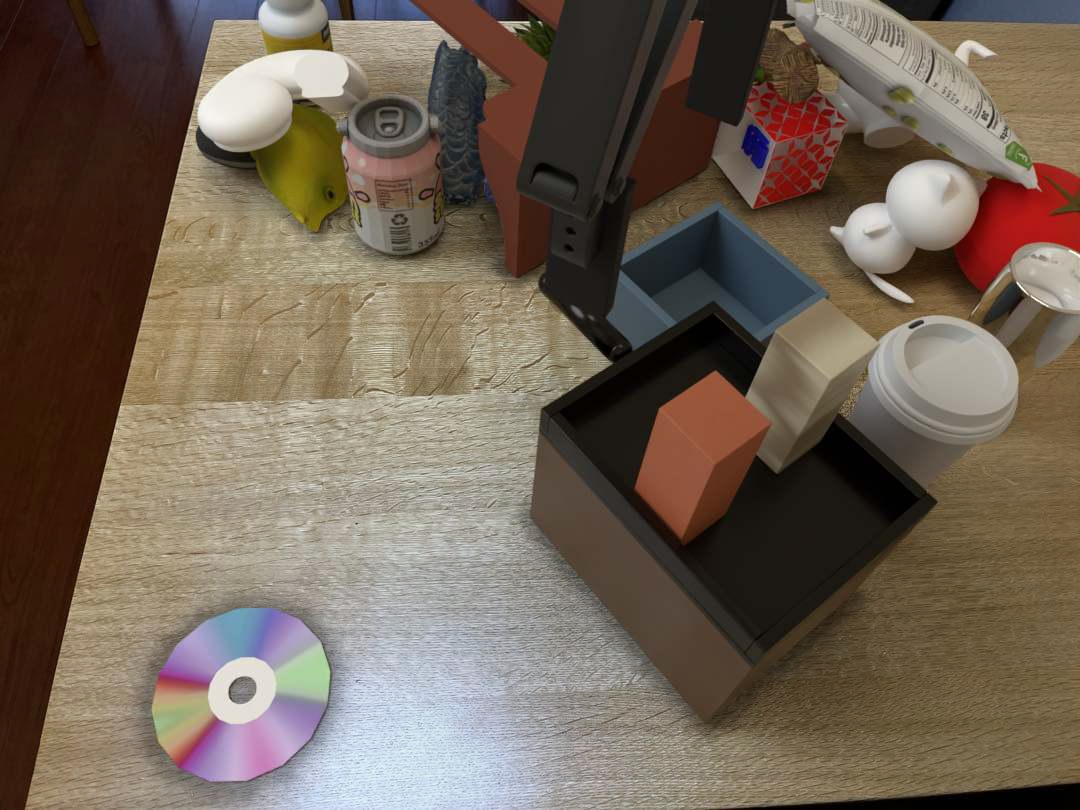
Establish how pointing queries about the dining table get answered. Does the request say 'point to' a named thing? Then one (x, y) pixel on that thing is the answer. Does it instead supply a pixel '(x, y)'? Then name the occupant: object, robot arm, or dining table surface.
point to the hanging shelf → (661, 160)
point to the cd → (256, 726)
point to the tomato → (1020, 221)
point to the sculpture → (277, 96)
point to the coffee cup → (936, 394)
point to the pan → (733, 540)
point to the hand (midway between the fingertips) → (651, 198)
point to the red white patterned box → (779, 145)
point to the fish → (306, 166)
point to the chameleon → (788, 66)
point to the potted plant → (536, 37)
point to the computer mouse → (226, 152)
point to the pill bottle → (295, 27)
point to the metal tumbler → (1033, 305)
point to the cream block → (807, 379)
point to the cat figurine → (911, 219)
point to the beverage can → (394, 173)
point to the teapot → (872, 119)
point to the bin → (709, 279)
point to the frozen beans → (913, 82)
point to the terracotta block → (699, 455)
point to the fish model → (458, 120)
